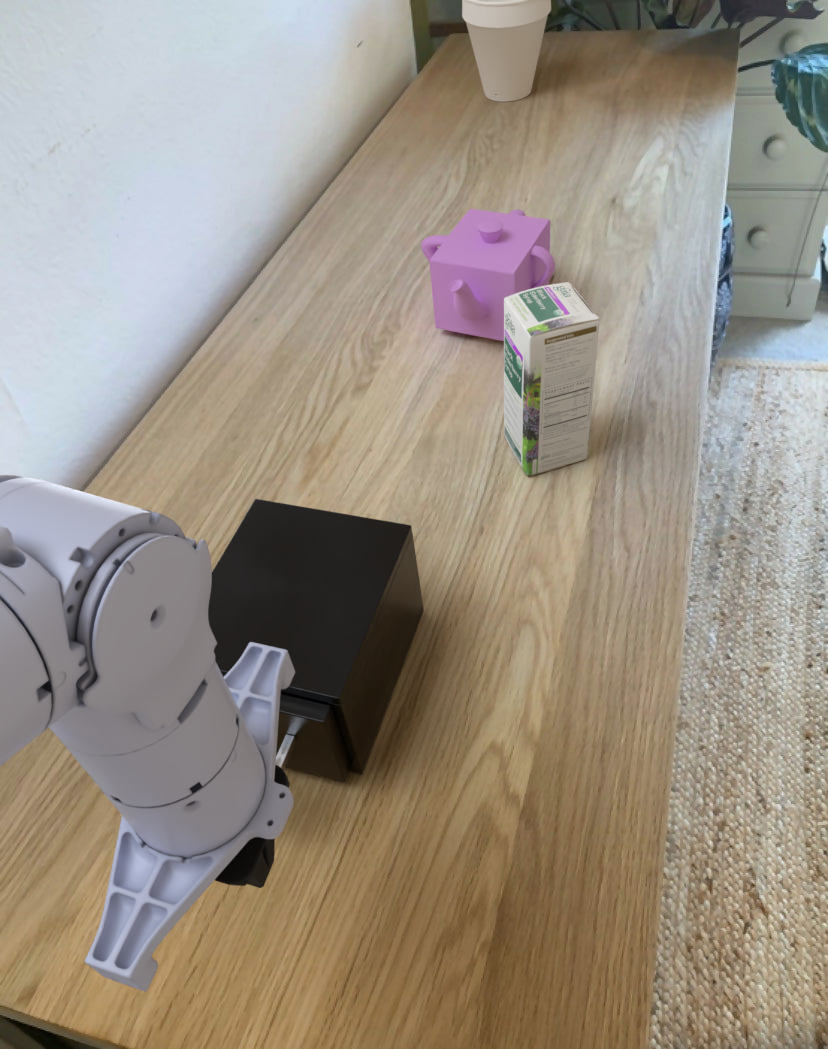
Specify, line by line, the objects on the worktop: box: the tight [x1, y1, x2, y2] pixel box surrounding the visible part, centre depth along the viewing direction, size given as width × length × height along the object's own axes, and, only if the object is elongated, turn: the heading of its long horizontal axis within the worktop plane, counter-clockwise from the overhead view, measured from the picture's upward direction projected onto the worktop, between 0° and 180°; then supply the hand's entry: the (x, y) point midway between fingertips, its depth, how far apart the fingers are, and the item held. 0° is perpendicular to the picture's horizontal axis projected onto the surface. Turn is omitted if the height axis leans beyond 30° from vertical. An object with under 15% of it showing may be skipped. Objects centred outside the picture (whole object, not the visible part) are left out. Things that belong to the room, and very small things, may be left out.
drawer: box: [275, 693, 351, 784], centre depth 55 cm, size 17×10×8 cm, turn 162°
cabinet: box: [208, 498, 425, 776], centre depth 58 cm, size 14×12×10 cm
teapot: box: [420, 208, 556, 342], centre depth 85 cm, size 18×14×10 cm
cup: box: [461, 0, 552, 103], centre depth 121 cm, size 12×12×14 cm
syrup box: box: [503, 281, 600, 477], centre depth 69 cm, size 6×6×14 cm
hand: (250, 869), depth 42 cm, fingers closed
